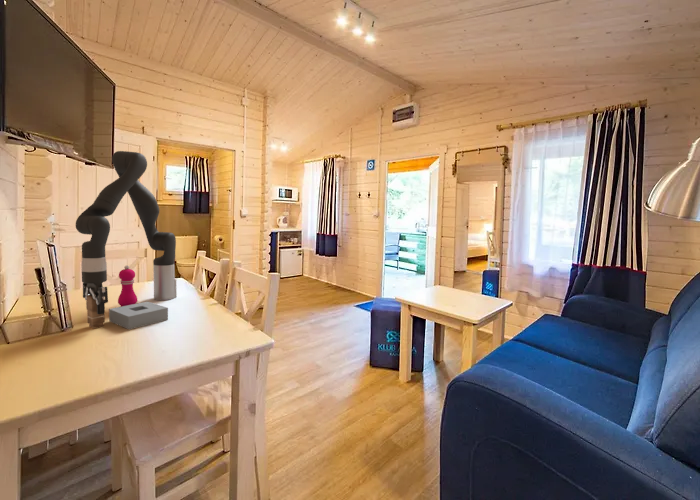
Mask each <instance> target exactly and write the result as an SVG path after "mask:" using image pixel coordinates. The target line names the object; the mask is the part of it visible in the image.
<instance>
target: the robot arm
mask: <svg viewBox="0 0 700 500" xmlns="http://www.w3.org/2000/svg"><path fill="white" fill-rule="evenodd" d="M111 160H112V161H111V162H112V165H113V168H114V170H115V172H116V175H118V178H117V179H115V180H114V181H112V182H111V183H109V184H108V185H106V186H105V187H104V188H103V189H102V190H100V192H99V194H97V197H96V198H95V200H94V201H93V203H92V204H91V205H90V206H88V207H87V208H86V209H85V210H84V211H82V213H80V214H79V216H78V217H77V218H76V220H75V228H76V231H78V233H79V234H83V235H91V237H90V240H87V241H84V242H82V244H81V264H80V265H81V267H80V269H81V282H82V298H83V299H84V301H85V302H86V303H85V304H86V306H85V307H86V309H87V295H91V296H93V299H94V300H96V303H97V314H105V313H106V312H105V311H106V309H105V307H106V306H105V304H108V302H109V299H108V298H109V297H108V292H109V291H108V286H103V283H105V282H107V280H108V274H107V273H108V272H107V270H108V269H107V268H108V267H107V264H108V263H107V258H106V245H107V242H108V238H109V235H110V231H111V225H110V222H109V219H108V218H107V217H109V216H111V215H113V214H114V213H115V211H116V209H117V208H118V206H119V204H120V203H121V201H122V199H123V197H124V196H125V195H126V194H127V193H128V195H129V198H130V199H131V200H130V201H131V202H132V204H133V206H134V209H135V211H136V214H137V215H138V218H139V220H140V222H141V225H142V227H143V230H144V233H145V236H146V239H147V243H148V245H149V247H150V249H152V250H153V251H161V252H163V254H162V255H161V256H158V257H156V258H154V259H153V260H152V261H153V262H152V263H153V266H152V267H153V299H154V300H157V301H168V300H174V299H175V298H177V295H178V293H177V278H175V276H176V275H175V260H176V245H177V242H176V241H177V240H176V236H175V234H174V233H173V232H166V231H159V230H158V229H157V226H156V223H157V220H158V217H159V214H160V206H159V204H158V201H157V199H156V197H155V195H154V194H153V193H152V192H151V191H150V190H149V189H148V188H147V187H146V186H145V185H144V184H143V183H142V182H140V180H139V179H140V178H141V177H142V176H143V174H144V173H146V170H147V167H148V161H147V158H146V156H145V155H144V154H143V153H140V152H135V151H127V150H125V151H124V150H118V151H115V152H114V153H113V154H112V158H111Z"/></svg>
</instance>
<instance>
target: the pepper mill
mask: <svg viewBox="0 0 700 500" xmlns="http://www.w3.org/2000/svg"><path fill="white" fill-rule="evenodd" d="M135 277H136V272H135V271H134V269H131V268H130V266H129V265H125V266H124V269H121V270H120V271H119V272H118V278H119V279H120V281H119V282H120V283H119V284H120V285H121V291H120V293H119V295H118V298H117V304H118V305H119V307H122V306H127V305H132V304H137V302H138V296H137V293H136V292H135V291H134V283H135V279H134V278H135Z"/></svg>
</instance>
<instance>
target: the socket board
mask: <svg viewBox="0 0 700 500" xmlns="http://www.w3.org/2000/svg"><path fill="white" fill-rule="evenodd" d="M108 316H109V318H108V319H109V323H113V324H115V325H117V326H120V327H122V328H125V329H127V330H132V329H136V328H141V327H145V326H148V325H152V324H157V323H160V322H164V321H168V320H169V308H168V307H166V306H163V305H160V304H157V303H153V302H151V301H144V302H139V303H136V304H132V305H127V306H122V307H120V306H118V307H113V308H109V309H108Z"/></svg>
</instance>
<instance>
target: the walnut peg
mask: <svg viewBox="0 0 700 500" xmlns="http://www.w3.org/2000/svg"><path fill="white" fill-rule="evenodd" d="M86 301H87V308H86V313H87V314H86V316H87V318H86V319H87V323H88V327H89V328H92V329H97V328H101V327H104V326H105V325H104V323H105V321H106V318H105V313H104V314H97V303H96V300H94V299H93V296H91V295H87V300H86Z"/></svg>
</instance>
